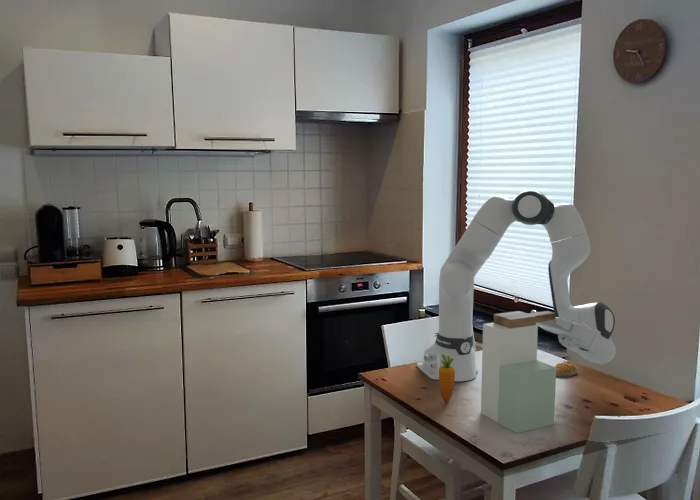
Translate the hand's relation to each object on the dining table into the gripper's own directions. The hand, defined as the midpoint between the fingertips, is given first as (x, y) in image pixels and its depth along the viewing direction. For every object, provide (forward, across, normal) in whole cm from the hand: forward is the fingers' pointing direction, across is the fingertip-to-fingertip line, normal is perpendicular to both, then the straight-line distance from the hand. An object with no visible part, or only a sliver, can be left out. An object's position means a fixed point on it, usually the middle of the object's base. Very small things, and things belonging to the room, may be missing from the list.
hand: (544, 316), depth 172 cm
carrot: (+7, -14, +36) cm, 39 cm away
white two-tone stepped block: (-3, +4, +30) cm, 30 cm away
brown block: (+5, 0, +4) cm, 6 cm away
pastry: (-38, -19, +10) cm, 44 cm away
